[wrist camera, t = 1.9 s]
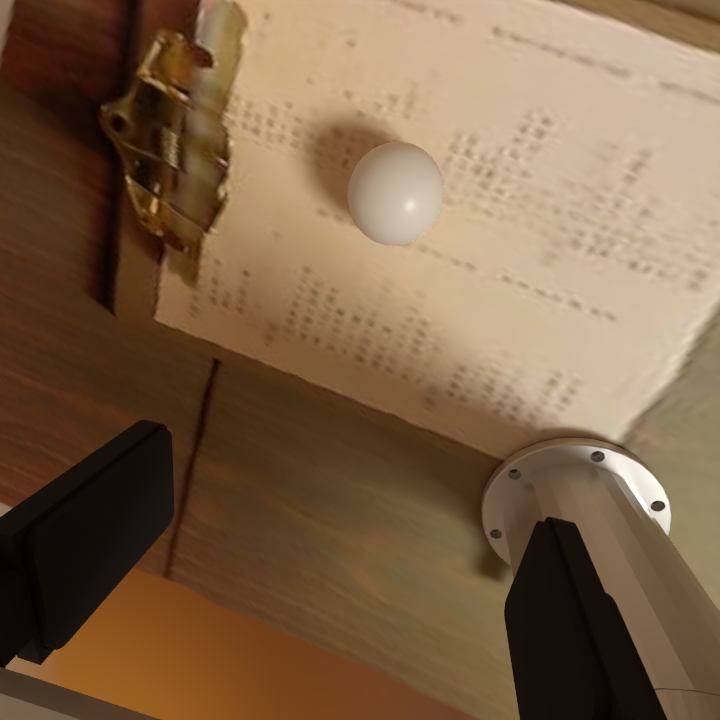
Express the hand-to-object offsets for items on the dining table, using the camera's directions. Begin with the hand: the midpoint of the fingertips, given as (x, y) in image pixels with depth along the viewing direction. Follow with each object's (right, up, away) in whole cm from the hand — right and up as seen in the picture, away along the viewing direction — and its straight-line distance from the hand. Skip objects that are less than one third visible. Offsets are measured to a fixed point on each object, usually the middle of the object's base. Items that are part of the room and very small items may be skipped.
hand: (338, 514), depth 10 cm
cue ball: (+3, +13, +13) cm, 19 cm away
